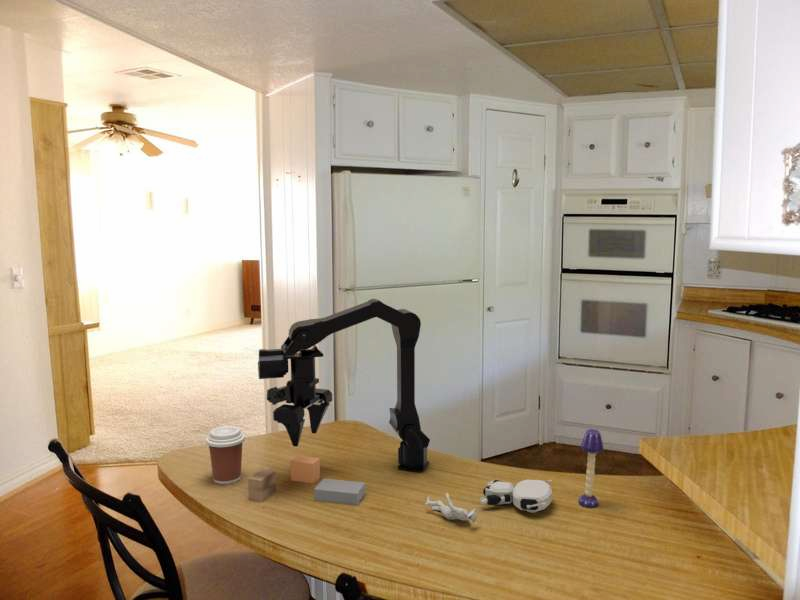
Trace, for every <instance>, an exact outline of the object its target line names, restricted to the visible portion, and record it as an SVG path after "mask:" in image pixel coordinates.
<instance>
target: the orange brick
mask: <svg viewBox="0 0 800 600" xmlns="http://www.w3.org/2000/svg"><path fill="white" fill-rule="evenodd" d="M320 463H321V461H320V458H317V457H312V456H311V457H310V456H303V455H296V456H294V457H293V458H291V460H290V481H293V482H294V481H295V482H300V483H306V484H311V485H313V484H315V483H317V481H318V480H320V479H321V469H320V468H321V464H320Z"/></svg>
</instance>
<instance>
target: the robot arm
mask: <svg viewBox="0 0 800 600" xmlns="http://www.w3.org/2000/svg"><path fill="white" fill-rule="evenodd" d="M374 318H378V319H380V320H382V321H384V322H386V323H389V324H390V325H391V330H392V334H393V338H394V342H395V345H396V393H397V395H396V396H397V397H396V404H395V406H394V408H393V407H390V408H388V409H389V415H390V418H389V421H388V423H389V425H390V426H391V428H392V430H393V431H394V432H395V433H396V435H397V436H398V437H399V439H401V440H402V441H400V443H399V447H398V449H397V460H398V461H397V463H398V465H397V469H398V470H405V471H410V472H418V473H422V472H424V470H425V469H426V468H427V467H428V465H429V464H430V460H428V447H429V444H430V441H431V439H430V438H429V436H427V434H425V433H424V431H423V430H422V428H421V427H422V426H421V422H420V417H419V413H418V410H417V407H416V406H417V405H416V402H415V399H416V398H415V396H416V392H415V389H416V388H415V387H416V383H415V381H416V379H415V378H416V377H415V375H416V374H415V373H416V371H415V370H416V369H415V367H416V366H415V363H416V362H415V361H416V360H415V359H416V356H415V355H416V354H415V351H416V346H417V342H418V340H419V337H420V332H421V326H422V322H421V319H420V317H419V316H418V315H417V314H416V313H414V312H412V311H410V310H409V309H406V308H400V309H396V308H394V307H392V306H390V305H387V304H386V303H385V302H384V303H383V302H382V301H381V300H379V299H377V298H370V299H369V300H367V301H364V302H363V303H360V304H357V305H355V306H352V307H350V308H346V309H344V310H341V311H339V312H336V313H333V314H331V315H327V316H325V317H319V318H310V319H304V320H299V321H296V322H293V323H292V324H291V325H290V328H289V329H288V336H287V337H286V339H285V340H284V342H283V343H282V345H281V346H280V348H276V349H275V348H273V349H266V348H261V349H258V361H257V374H258V379H259V380H268V379H278V378H279V379H281V378H282V379H283V378H284V377H285V376H287V374H288V373H289V362H290V380H288V381H286V385H283V386H281V387H277V386H274V387H271V388H268V389H267V391H266V392H267V393H266V400H267V401H268V403H271V404H272V406H274V405H277V404H278V403H283V402H285V403H286V404H285V403H284V404H281V405H279V406H278V407H276V408H275V409H274V410H273V411H272V420H273V421H275V422H277V423H278V424H282V426H284V427H285V429H286V431H287V434H288V436H289V438H290V439H289V440H290V441H291V444H292V446H293V447H298V446H299V443H300V441H301V437H302V433H303V429H304V425H305V421H306V419H304V417H305V415H306V414H305V410H306V409H307V411H308V415H309V426H310V431H311V434H317V433H318V430H319V427H320V426H321V423H322V421H323V418H324V416H325V415H326V412H327V410H328V407H330V405H331V402H332V401H333V393H332V392H331V390H330V389H325V388H316V387H317V384H319V383H320V378H319V377H316V358H322V357H324V353H323V352H322V351H321V350H320V349H319V347H318V346H317V344H319V343H321V342H323V340H325V339H326V338H328V336H331V335H333V334H335V333H338V332H341V331H342V330H346V329H348V328H352V327H353V326H355V325H358V324H361V323H364V322H366V321H369V320H372V319H374ZM289 360H290V361H289Z"/></svg>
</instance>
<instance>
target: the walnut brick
mask: <svg viewBox="0 0 800 600" xmlns="http://www.w3.org/2000/svg"><path fill="white" fill-rule="evenodd" d="M276 475H277V474H276V470H275V469H269V468H261V469H260V470H258V471H257V472H256V473H254V474H252V475H251V476H250V477H248V478H247V488H248V490H247V492H248V500H249V501H255V502H260V503H262V502H264V501H265V500H266V499H267V498H269V497H270V496H271V495H273V494H274V493H275V492H276V491H277V477H276Z"/></svg>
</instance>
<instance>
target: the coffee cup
mask: <svg viewBox="0 0 800 600" xmlns="http://www.w3.org/2000/svg"><path fill="white" fill-rule="evenodd" d="M245 439H246V435H245V434H244V433H243V432H242V430H241V429H240V428H239V427H238V426H236V425H235V426H234V425H222V426H219V427H215V428H213V429H211V430H210V432H209V434H208V436H207V437H206V438H205V443H206V445H207V446H208V449H209V455H210V463H211V464H210V465H211V470H212V478H213V479H212V480H213V481H214V482H213V483H216V484H219V485H220V484H221V485H229V484H233V483H236V482H238V481H239V480H241V478H242V463H243V462H242V461H243V460H242V459H243V442H245Z"/></svg>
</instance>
